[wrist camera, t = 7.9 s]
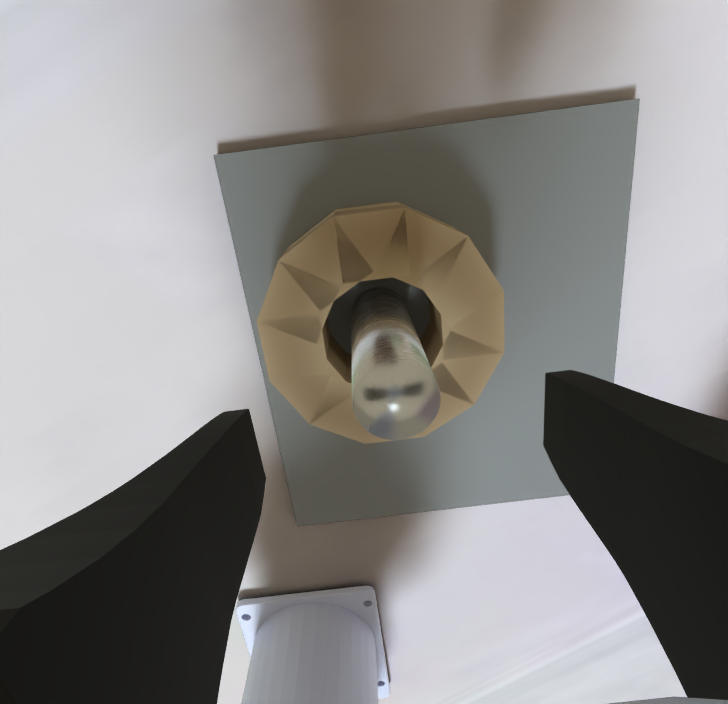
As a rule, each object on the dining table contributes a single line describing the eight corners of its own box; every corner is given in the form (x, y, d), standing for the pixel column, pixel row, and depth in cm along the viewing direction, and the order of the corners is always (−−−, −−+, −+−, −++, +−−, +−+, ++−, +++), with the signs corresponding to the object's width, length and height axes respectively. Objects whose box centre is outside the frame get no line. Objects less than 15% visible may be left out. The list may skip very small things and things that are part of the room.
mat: (598, 484, 24) (603, 491, 24) (298, 519, 24) (297, 526, 24) (631, 100, 17) (639, 98, 17) (217, 155, 18) (213, 154, 17)
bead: (485, 393, 21) (505, 427, 19) (294, 416, 22) (285, 453, 19) (479, 190, 18) (503, 194, 15) (253, 219, 18) (236, 229, 15)
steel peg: (410, 334, 20) (445, 431, 13) (356, 344, 20) (360, 446, 13) (402, 282, 19) (435, 353, 12) (346, 292, 19) (343, 369, 12)
